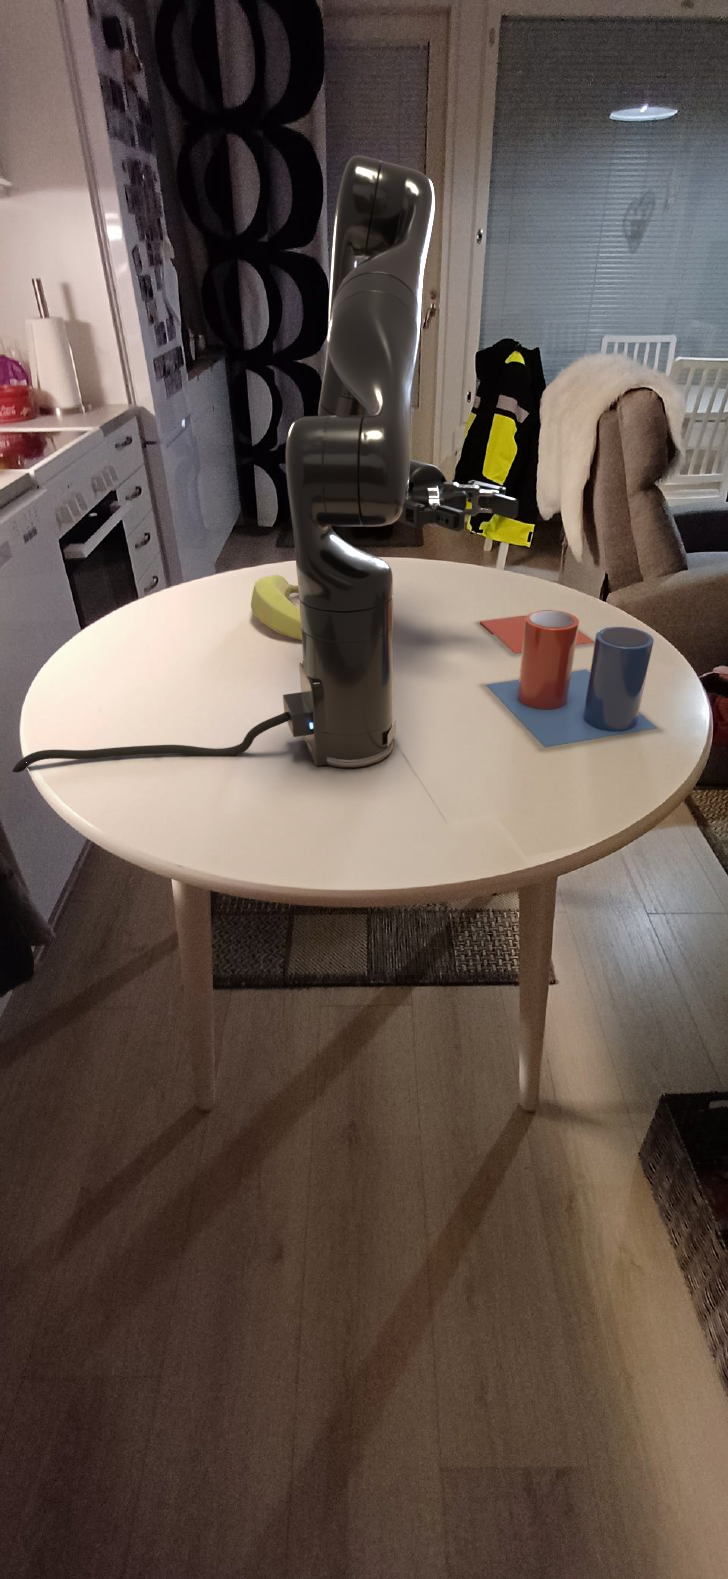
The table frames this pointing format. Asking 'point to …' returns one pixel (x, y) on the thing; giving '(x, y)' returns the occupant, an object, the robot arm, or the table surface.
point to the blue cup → (617, 678)
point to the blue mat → (559, 714)
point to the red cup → (547, 659)
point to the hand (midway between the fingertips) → (489, 515)
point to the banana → (276, 606)
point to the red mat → (517, 632)
